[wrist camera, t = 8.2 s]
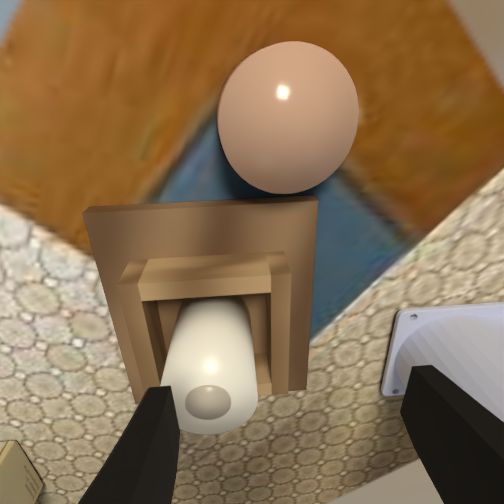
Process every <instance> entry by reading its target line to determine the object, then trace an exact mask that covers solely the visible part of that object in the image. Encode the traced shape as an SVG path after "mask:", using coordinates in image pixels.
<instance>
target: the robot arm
mask: <svg viewBox="0 0 504 504" xmlns="http://www.w3.org/2000/svg"><path fill="white" fill-rule="evenodd" d="M413 314H414V315H413ZM411 315H413V316H411ZM410 316H411V317H410ZM381 392H382V393H383V395H384V396H397V395H404V399H403V403H402V407H401V410H400V413H401V416H402V418H403V421H404V423H405V426H406V429H407V431H408V434H409V436H410V438H411V441H412V443H413V446H414V448H415V450H416V452H417V454H418V456H419V458H420V459H421V461H422V463H423V465H424V467H425V469H426V471H427V473H428V475H429V477H430V478H431V480H432V482H433V484H434V486H435V488H436V489H437V491H438V493H439V495H440V497H441V499H442V501H443V503H444V504H504V302H492V303H478V304H464V305H449V306H435V307H421V308H407V309H402V310H400V311H399V312H398V313H397V315H396V319H395V324H394V329H393V334H392V338H391V343H390V348H389V353H388V357H387V362H386V367H385V372H384V376H383V381H382V386H381ZM179 438H180V429H179V424H178V419H177V414H176V409H175V404H174V399H173V394H172V389H171V386H158V387H149V388H148V389H147V390H146V392H145V394H144V396H143V398H142V400H141V402H140V404H139V405H138V407H137V409H136V411H135V413H134V415H133V416H132V418H131V420H130V422H129V423H128V425H127V427H126V429H125V430H124V432H123V434H122V436H121V437H120V439H119V441H118V442H117V444H116V445H115V447H114V449H113V450H112V452H111V454H110V455H109V457H108V458H107V460H106V462H105V463H104V465H103V467H102V468H101V470H100V471H99V473H98V474H97V476H96V477H95V479H94V480H93V482H92V483H91V485H90V486H89V488H88V489H87V491H86V492H85V494H84V495H83V497H82V498H81V500H80V501H79V503H78V504H171V502H172V496H173V490H174V484H175V479H176V473H177V463H178V452H179Z"/></svg>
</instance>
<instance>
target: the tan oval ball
mask: <svg viewBox="0 0 504 504" xmlns="http://www.w3.org/2000/svg"><path fill="white" fill-rule="evenodd" d="M358 117H359V107H358V98H357V93H356V90H355V86H354V84H353V81H352V79H351V77H350V75H349V73H348V72H347V70H346V69H345V67H344V66H343V65H342V64H341V62H340V61H339V60H338V59H337V58H336V57H334V56H333V55H332V54H331V53H329V52H328V51H326V50H325V49H323V48H321V47H318V46H316V45H313V44H310V43H306V42H296V41H292V42H283V43H278V44H274V45H271V46H268V47H266V48H263V49H260V50H258V51H255V52H253V53H252V54H250V55H248V56H247V57H245V58H244V59H243V60H241V61H240V62H239V63H238V64H237V65H236V66H235V67H234V68H233V70H232V71H231V72H230V74H229V75H228V77H227V78H226V80H225V82H224V84H223V86H222V89H221V91H220V94H219V98H218V102H217V110H216V121H217V129H218V133H219V137H220V140H221V144H222V147H223V150H224V152H225V155H226V157H227V159H228V161H229V163H230V164H231V166H232V167H233V168H234V170H235V171H236V172H237V173H238V174H239V175H240V177H241V178H243V179H244V180H245V181H246V182H248V183H249V184H251V185H252V186H254V187H256V188H258V189H261V190H263V191H267V192H270V193H276V194H291V193H297V192H301V191H305V190H307V189H310V188H312V187H314V186H316V185H318V184H320V183H321V182H323V181H324V180H326V179H327V178H328V177H329V176H330V175H331V174H333V173H334V172H335V170H336V169H337V168H338V167H339V166H340V165H341V163H342V162H343V161H344V159H345V158H346V156H347V154H348V152H349V151H350V148H351V146H352V144H353V141H354V138H355V135H356V131H357V126H358Z"/></svg>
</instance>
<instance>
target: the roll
mask: <svg viewBox="0 0 504 504" xmlns="http://www.w3.org/2000/svg"><path fill="white" fill-rule="evenodd" d="M160 386H171V389H172V394H173V399H174V404H175V409H176V414H177V419H178V424H179V429H181V430H184V431H187V432H190V433H195V434H203V435H211V434H219V433H224V432H228V431H230V430H233V429H235V428H237V427H239V426H241V425H242V424H244V423H245V422H246V421H247V420H248V419H249V418H250V417H251V416H252V415H253V413H254V411H255V410H256V407H257V403H258V392H257V381H256V371H255V360H254V349H253V339H252V328H251V317H250V311H249V308H248V306H247V304H246V303H245V301H244V300H243V299H242V298H241V297H240V296H239V295H226V296H211V297H196V298H186V299H185V300H184V301H183V302H182V303H181V305H180V307H179V310H178V314H177V318H176V322H175V326H174V331H173V335H172V339H171V343H170V347H169V351H168V355H167V360H166V364H165V368H164V372H163V376H162V380H161V384H160Z"/></svg>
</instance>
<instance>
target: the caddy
mask: <svg viewBox="0 0 504 504" xmlns="http://www.w3.org/2000/svg"><path fill="white" fill-rule="evenodd" d="M82 214H83V218H84V222H85V225H86V229H87V232H88V236H89V239H90V243H91V246H92V250H93V254H94V257H95V261H96V264H97V268H98V271H99V275H100V278H101V282H102V286H103V289H104V293H105V296H106V300H107V303H108V307H109V311H110V314H111V318H112V321H113V325H114V328H115V332H116V335H117V339H118V343H119V346H120V350H121V353H122V357H123V360H124V364H125V367H126V371H127V375H128V378H129V382H130V385H131V389H132V392H133V396H134V399H135V403H136V404H137V403H140V402H141V400H142V398H143V396H144V394H145V392H146V390H147V389H148V388H149V387H158V386H160V384H161V380H162V376H163V372H164V368H165V364H166V360H167V355H168V351H169V347H170V343H171V339H172V335H173V331H174V326H175V322H176V318H177V314H178V310H179V307H180V305H181V303H182V302H183V301H184V300H185V299H186V298H196V297H211V296H226V295H239V296H240V297H241V298H242V299H243V300H244V301H245V303H246V304H247V306H248V308H249V311H250V317H251V328H252V339H253V349H254V360H255V371H256V381H257V392H258V396H265V395H277V394H288V391H295V390H306V386H307V371H308V355H309V339H310V324H311V308H312V292H313V276H314V261H315V245H316V229H317V214H318V200H317V199H316V198H315V196H314V195H310V196H290V197H271V198H252V199H232V200H213V201H194V202H175V203H155V204H136V205H117V206H97V207H89V208H88V209H87V210H86V211H84V212H83V213H82Z"/></svg>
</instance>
